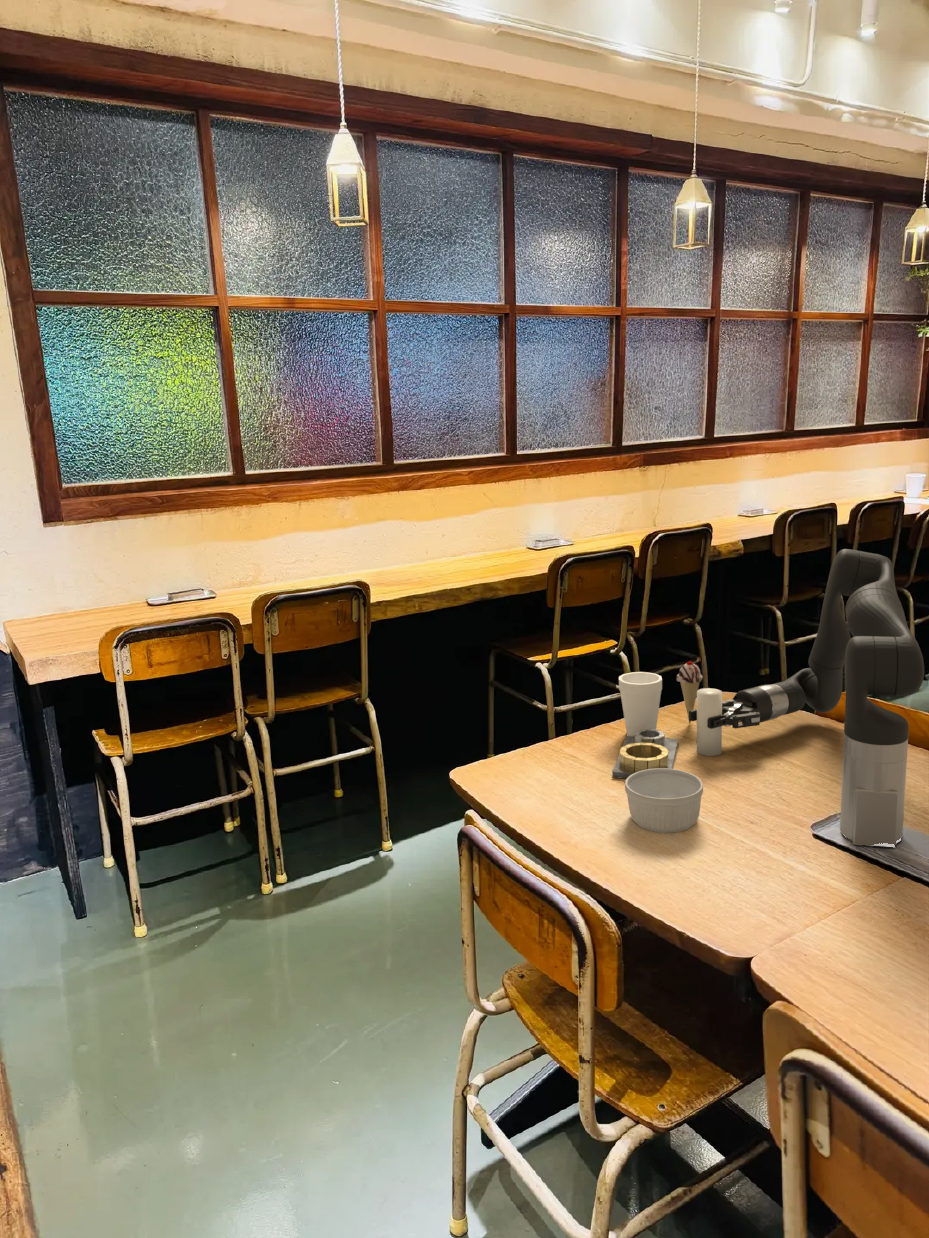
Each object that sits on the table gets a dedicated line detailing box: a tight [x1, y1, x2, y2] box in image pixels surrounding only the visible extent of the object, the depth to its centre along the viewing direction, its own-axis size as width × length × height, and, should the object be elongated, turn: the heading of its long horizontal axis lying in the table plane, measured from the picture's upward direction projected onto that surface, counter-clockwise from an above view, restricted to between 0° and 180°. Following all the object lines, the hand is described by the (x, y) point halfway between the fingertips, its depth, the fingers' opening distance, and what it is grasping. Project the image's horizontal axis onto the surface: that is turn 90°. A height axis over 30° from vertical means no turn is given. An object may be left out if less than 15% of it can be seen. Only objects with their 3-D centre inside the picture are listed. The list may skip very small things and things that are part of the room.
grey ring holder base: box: [611, 728, 679, 780], centre depth 173 cm, size 20×11×4 cm, turn 161°
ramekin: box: [624, 768, 704, 834], centre depth 147 cm, size 13×13×7 cm
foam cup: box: [618, 671, 663, 736], centre depth 187 cm, size 10×9×13 cm
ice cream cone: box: [676, 660, 704, 724], centre depth 191 cm, size 6×6×15 cm
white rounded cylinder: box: [696, 687, 723, 757], centre depth 175 cm, size 5×5×13 cm
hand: (699, 719), depth 173 cm, fingers closed on white rounded cylinder, 5 cm apart
